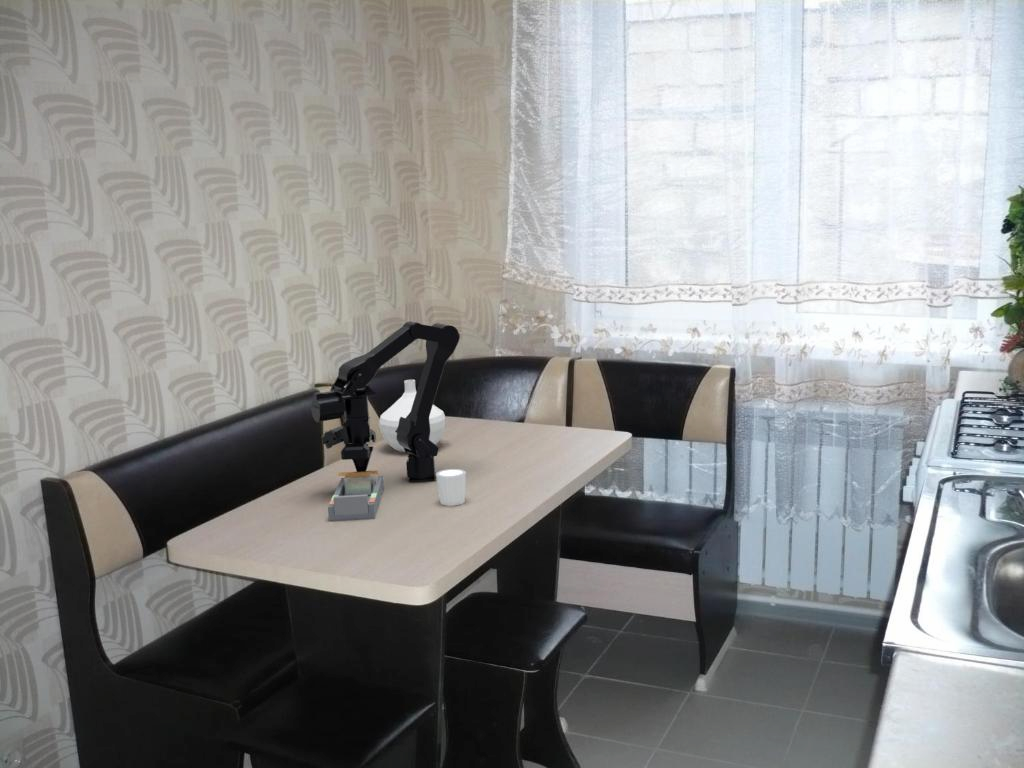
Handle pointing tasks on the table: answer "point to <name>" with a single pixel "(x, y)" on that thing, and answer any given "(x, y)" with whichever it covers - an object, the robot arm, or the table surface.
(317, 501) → the table surface
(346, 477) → the gauge sled
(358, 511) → the track
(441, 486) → the shot glass
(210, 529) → the table surface
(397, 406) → the vase
